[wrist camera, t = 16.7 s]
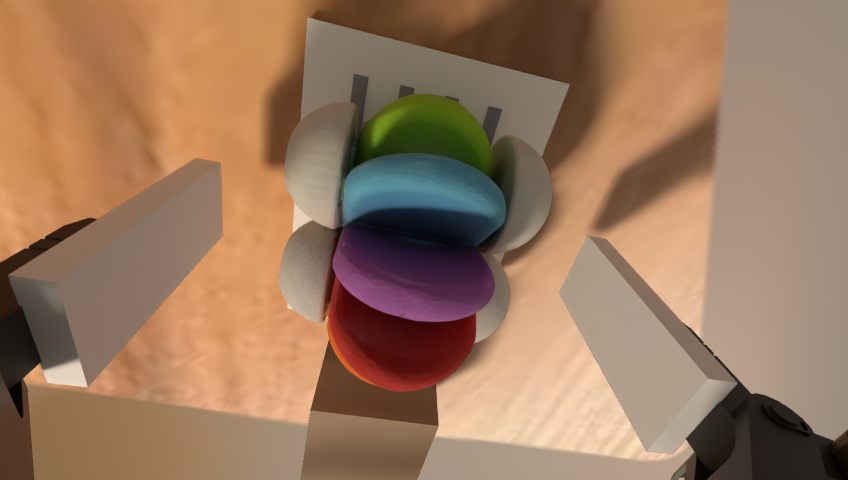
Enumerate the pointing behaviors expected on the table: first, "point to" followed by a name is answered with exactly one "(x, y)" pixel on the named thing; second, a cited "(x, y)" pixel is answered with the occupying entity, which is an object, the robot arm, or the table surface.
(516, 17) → the table surface
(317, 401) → the walnut block
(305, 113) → the letter
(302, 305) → the rainbow petal toy
